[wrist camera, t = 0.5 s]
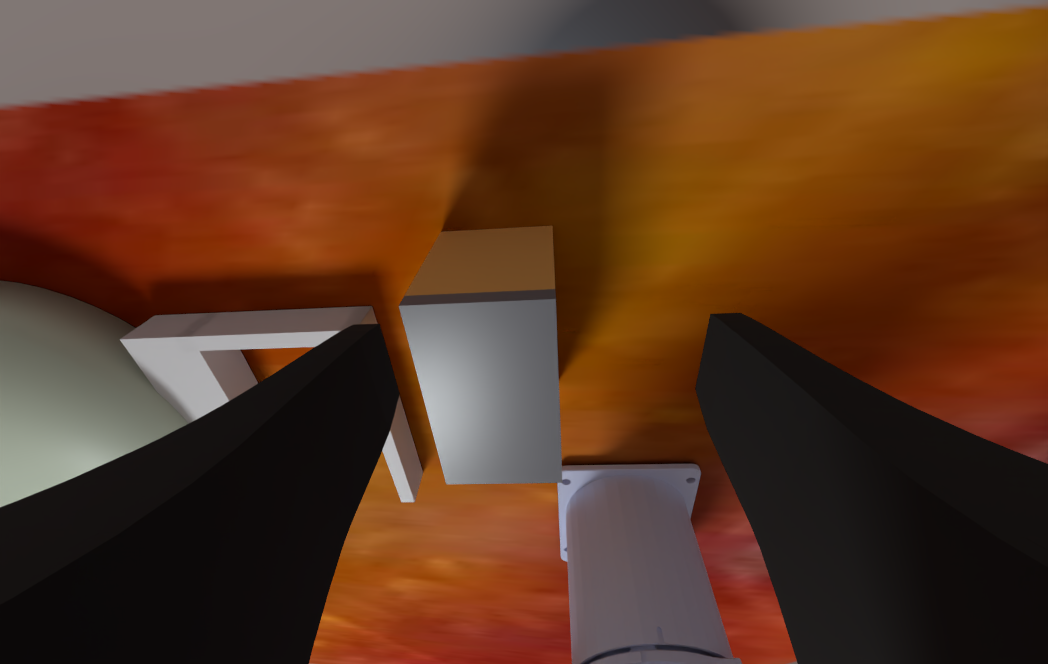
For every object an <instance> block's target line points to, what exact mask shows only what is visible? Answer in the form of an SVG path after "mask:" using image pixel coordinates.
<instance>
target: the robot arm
mask: <svg viewBox="0 0 1048 664" xmlns="http://www.w3.org/2000/svg"><path fill="white" fill-rule="evenodd" d="M695 389H696V393H697V396H698V400H699V403H700V407H701V411H702V414H703V417H704V420H705V424H706V427H707V430H708V432H709V434H710V437H711V439H712V441H713V443H714V446H715V448H716V450H717V452H718V454H719V457H720V459H721V461H722V463H723V466H724V468H725V470H726V472H727V474H728V476H729V479H730V481H731V483H732V485H733V487H734V489H735V492H736V494H737V496H738V498H739V500H740V503H741V505H742V507H743V509H744V511H745V513H746V516H747V518H748V520H749V522H750V524H751V527H752V529H753V532H754V534H755V537H756V539H757V542H758V544H759V546H760V549H761V552H762V555H763V558H764V561H765V564H766V567H767V570H768V573H769V576H770V579H771V581H772V584H773V587H774V590H775V593H776V596H777V599H778V602H779V605H780V609H781V612H782V615H783V618H784V621H785V624H786V628H787V631H788V634H789V637H790V640H791V643H792V647H793V650H794V653H795V656H796V659H797V663H798V664H1048V464H1046V463H1044V462H1041V461H1039V460H1036V459H1033V458H1031V457H1028V456H1026V455H1023V454H1020V453H1018V452H1015V451H1013V450H1010V449H1008V448H1005V447H1003V446H1000V445H998V444H996V443H993V442H991V441H988V440H986V439H983V438H981V437H979V436H976V435H974V434H972V433H969V432H967V431H965V430H963V429H961V428H958V427H956V426H954V425H952V424H949V423H947V422H945V421H943V420H940V419H938V418H936V417H934V416H932V415H929V414H927V413H925V412H923V411H920V410H918V409H916V408H914V407H912V406H910V405H908V404H906V403H904V402H902V401H900V400H898V399H896V398H894V397H892V396H890V395H888V394H886V393H884V392H882V391H880V390H878V389H876V388H874V387H873V386H871V385H869V384H867V383H865V382H863V381H861V380H859V379H857V378H855V377H853V376H852V375H850V374H848V373H846V372H844V371H843V370H841V369H839V368H837V367H835V366H834V365H832V364H830V363H828V362H826V361H825V360H823V359H821V358H819V357H818V356H816V355H814V354H813V353H811V352H809V351H807V350H806V349H804V348H802V347H801V346H799V345H797V344H795V343H794V342H792V341H790V340H789V339H787V338H785V337H784V336H782V335H780V334H778V333H777V332H775V331H773V330H772V329H770V328H768V327H766V326H765V325H763V324H761V323H759V322H757V321H756V320H754V319H752V318H750V317H748V316H746V315H744V314H741V313H725V314H710V319H709V324H708V329H707V334H706V339H705V344H704V349H703V354H702V358H701V363H700V368H699V373H698V378H697V383H696V388H695ZM399 394H400V393H399V390H398V386H397V383H396V379H395V376H394V372H393V369H392V365H391V362H390V358H389V355H388V351H387V348H386V344H385V341H384V338H383V334H382V331H381V327H380V324H354V325H351V326H349V327H347V328H345V329H344V330H342V331H340V332H338V333H337V334H335V335H333V336H332V337H330V338H329V339H327V340H325V341H324V342H322V343H321V344H319V345H318V346H316V347H315V348H313V349H312V350H310V351H308V352H307V353H305V354H304V355H302V356H301V357H299V358H298V359H296V360H295V361H293V362H292V363H290V364H288V365H287V366H285V367H284V368H282V369H281V370H279V371H278V372H276V373H275V374H273V375H271V376H270V377H268V378H266V379H265V380H263V381H261V382H260V383H258V384H257V385H255V386H253V387H252V388H250V389H248V390H247V391H245V392H243V393H242V394H240V395H238V396H237V397H235V398H233V399H232V400H230V401H228V402H227V403H225V404H223V405H222V406H220V407H218V408H216V409H215V410H213V411H211V412H209V413H207V414H206V415H204V416H202V417H200V418H198V419H196V420H195V421H193V422H191V423H189V424H187V425H185V426H183V427H181V428H179V429H177V430H175V431H173V432H171V433H169V434H167V435H165V436H163V437H161V438H160V439H157V440H155V441H153V442H151V443H149V444H147V445H145V446H143V447H141V448H139V449H136V450H134V451H132V452H130V453H127V454H125V455H123V456H121V457H119V458H116V459H114V460H112V461H110V462H108V463H105V464H103V465H101V466H99V467H96V468H94V469H92V470H90V471H88V472H85V473H83V474H81V475H79V476H76V477H74V478H72V479H69V480H67V481H65V482H62V483H60V484H57V485H55V486H53V487H50V488H48V489H45V490H43V491H40V492H38V493H35V494H33V495H30V496H28V497H25V498H23V499H21V500H18V501H15V502H13V503H10V504H7V505H5V506H2V507H0V664H309V660H310V656H311V652H312V648H313V645H314V641H315V638H316V634H317V630H318V627H319V623H320V620H321V616H322V613H323V609H324V606H325V602H326V599H327V595H328V592H329V589H330V585H331V582H332V579H333V576H334V573H335V569H336V566H337V563H338V560H339V556H340V553H341V550H342V547H343V544H344V541H345V539H346V536H347V533H348V531H349V528H350V525H351V523H352V520H353V518H354V516H355V513H356V511H357V509H358V506H359V504H360V502H361V499H362V497H363V495H364V492H365V490H366V487H367V485H368V483H369V480H370V478H371V476H372V473H373V471H374V469H375V466H376V464H377V462H378V459H379V457H380V454H381V452H382V450H383V447H384V445H385V442H386V440H387V437H388V435H389V432H390V429H391V425H392V422H393V418H394V415H395V411H396V406H397V402H398V398H399ZM700 476H701V471H700V468H699V466H698V465H696V464H630V465H565V466H562V483H558V505H559V527H560V550H561V559H563V560H564V561H568V582H569V604H570V627H571V649H572V664H742V662H741V660H740V659H739V658H733V655H732V652H731V649H730V646H729V642H728V639H727V636H726V633H725V629H724V626H723V623H722V620H721V617H720V613H719V610H718V607H717V604H716V600H715V597H714V594H713V591H712V588H711V584H710V581H709V578H708V575H707V572H706V568H705V565H704V562H703V559H702V555H701V552H700V549H699V546H698V543H697V539H696V536H695V533H694V530H693V526H692V523H691V520H690V518H691V514H692V510H693V506H694V501H695V497H696V493H697V489H698V485H699V480H700Z"/></svg>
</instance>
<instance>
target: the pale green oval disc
mask: <svg viewBox="0 0 1048 664" xmlns="http://www.w3.org/2000/svg"><path fill="white" fill-rule="evenodd" d="M354 324H377V320H376V317H375V314H374V311H373V307H372V306H360V307H337V308H314V309H291V310H267V311H244V312H221V313H198V314H175V315H155V316H153V317H152V318H150V319H149V320H147V321H146V322H145V323H143V324H142V325H140V326H139V327H137V328H135V327H133V326H131V325H130V324H128V323H126V322H125V321H123V320H121V319H119V318H117V317H115V316H113V315H111V314H109V313H107V312H105V311H103V310H101V309H99V308H97V307H95V306H92V305H90V304H87V303H85V302H82V301H80V300H77V299H75V298H72V297H70V296H67V295H63V294H60V293H57V292H54V291H51V290H48V289H44V288H40V287H35V286H31V285H26V284H22V283H16V282H8V281H0V507H2V506H5V505H7V504H10V503H13V502H15V501H18V500H21V499H23V498H25V497H28V496H30V495H33V494H35V493H38V492H40V491H43V490H45V489H48V488H50V487H53V486H55V485H57V484H60V483H62V482H65V481H67V480H69V479H72V478H74V477H76V476H79V475H81V474H83V473H85V472H88V471H90V470H92V469H94V468H96V467H99V466H101V465H103V464H105V463H108V462H110V461H112V460H114V459H116V458H119V457H121V456H123V455H125V454H127V453H130V452H132V451H134V450H136V449H139V448H141V447H143V446H145V445H147V444H149V443H151V442H153V441H155V440H157V439H160V438H161V437H163V436H165V435H167V434H169V433H171V432H173V431H175V430H177V429H179V428H181V427H183V426H185V425H187V424H189V423H191V422H193V421H195V420H196V419H198V418H200V417H202V416H204V415H206V414H207V413H209V412H211V411H213V410H215V409H216V408H218V407H220V406H222V405H223V404H225V403H227V402H228V401H230V400H232V399H233V398H235V397H237V396H238V395H240V394H242V393H243V392H245V391H247V390H248V389H250V388H252V387H253V386H255V385H257V384H258V382H257V380H256V378H255V376H254V374H253V373H252V371H251V369H250V367H249V365H248V363H247V361H246V360H245V358H244V356H243V354H242V352H241V350H240V349H266V348H293V347H316V346H318V345H319V344H321V343H322V342H324V341H325V340H327V339H329V338H330V337H332V336H333V335H335V334H337V333H338V332H340V331H342V330H344V329H345V328H347V327H349V326H351V325H354ZM382 451H383V453H384V456H385V459H386V461H387V464H388V467H389V470H390V472H391V475H392V478H393V480H394V483H395V486H396V488H397V491H398V494H399V497H400V499H401V502H415V499H416V496H417V492H418V489H419V485H420V482H421V478H422V475H423V471H422V467H421V464H420V461H419V457H418V454H417V451H416V448H415V444H414V441H413V438H412V435H411V431H410V428H409V425H408V422H407V418H406V415H405V412H404V409H403V405H402V402H401V399H400V396H399V398H398V402H397V406H396V411H395V415H394V418H393V422H392V425H391V429H390V432H389V435H388V437H387V440H386V442H385V445H384V447H383V450H382Z"/></svg>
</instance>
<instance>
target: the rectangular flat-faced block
mask: <svg viewBox="0 0 1048 664" xmlns="http://www.w3.org/2000/svg"><path fill="white" fill-rule="evenodd" d="M399 309H400V312H401V316H402V320H403V324H404V327H405V331H406V335H407V339H408V342H409V346H410V350H411V353H412V357H413V361H414V365H415V368H416V372H417V376H418V380H419V383H420V387H421V391H422V395H423V398H424V402H425V406H426V410H427V413H428V417H429V421H430V425H431V428H432V432H433V436H434V440H435V443H436V447H437V451H438V455H439V458H440V462H441V466H442V470H443V473H444V477H445V481H446V484H500V483H562V460H561V432H560V404H559V375H558V347H557V319H556V292H555V270H554V248H553V226H535V227H517V228H499V229H481V230H463V231H445V232H441V233H440V234H439V236H438V238H437V240H436V241H435V243H434V245H433V247H432V249H431V250H430V252H429V254H428V256H427V257H426V259H425V261H424V263H423V264H422V266H421V268H420V270H419V271H418V273H417V275H416V277H415V278H414V280H413V282H412V284H411V285H410V287H409V289H408V291H407V292H406V294H405V296H404V298H403V299H402V301H401V303H400V305H399Z"/></svg>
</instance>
